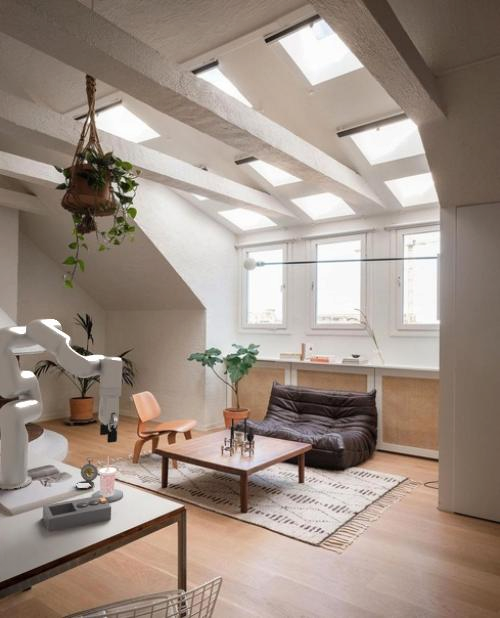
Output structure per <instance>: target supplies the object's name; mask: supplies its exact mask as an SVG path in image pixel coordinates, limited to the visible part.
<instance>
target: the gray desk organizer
mask: <svg viewBox="0 0 500 618" xmlns="http://www.w3.org/2000/svg"><path fill="white" fill-rule="evenodd" d="M111 519H112V506H111V505H110V502H109V503H108V502H107V500H106V499H105V498H104V497H103V495H99V496H94V497H92V496H89V497H84V498H78V499H73V500H67V501H61V502H56V503H52V504H51V503H50V504H45V505H43V506H42V520H43V522H44V525H45V527H46V530H47V532H48V533H51V532H56V531H61V530H66V529H70V528H76V527H79V526H81V527H82V526H84V525H85V526H86V525H89V524H94V523H100V522H104V521H109V520H111Z"/></svg>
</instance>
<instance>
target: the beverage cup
mask: <svg viewBox="0 0 500 618" xmlns="http://www.w3.org/2000/svg"><path fill="white" fill-rule="evenodd" d="M106 463H107V466H106V467H101V468H100V469H99V470H98V474H99V485H100V487H99V489H100V490H99V491H100V495H103V497H111V496H113V494H114V489H115V482H116V473H117V468H116V467H113V466H112V467H111V466H110V456H109V455H108V456H107V462H106ZM109 466H110V467H109Z"/></svg>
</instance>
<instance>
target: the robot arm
mask: <svg viewBox="0 0 500 618" xmlns="http://www.w3.org/2000/svg"><path fill="white" fill-rule="evenodd" d="M71 345H72V338H71V336H69V335H68V334H67V333H65V332H63V328H62V325H61V323H60V322H59V321H57V320H55V319H54V318H53V319H52V318H38V319H33V320H31V321H30V322H29V323H28V324H27V325H21V326H20V325H19V326H6V327H2V328H0V397H2V398H4V399H13V398H16V397H18V399H16V400H12V401H10V402H7V403H6V404H3V405H2V407H1V408H0V488H1V489H0V490H5V489H8V490H15V489H14V488H17V489H21V488H24V487H27V486H29V485H30V484H32V480H33V479H32V477H31V476H30V475H28V468H29V467H28V464H29V461H28V460H29V433H28V430H27V428H26V424H28V423H30V422H34V421H35V420H37V419H39V418H40V417H41V415H42V413H43V410H44V409H43V407H44V405H43V400H42V394H41V389H40V384H39V380H38V377H37V376H36V374H34V372H32V371H31V370H20V369H21V368H20V365H19V360H18V358H17V356H16V354H15V353H14V352H13V349H23V348H30V347H34V346H39V347H41V348H43V349H45V350H46V351H47V352H49V353H51V354H52V355H54V356H55V359H56V361H57V362H58V364H59V366H60V367H62V369H64V370H65V371H67V372H69V373H70V374H72V375H73V376H74V377H75V376H76V377H78V378H81V379H86V378H90V377H91V378H92V377H94V376H99V375H100V376H99V397H100V398H99V407H98V421H99V422H100V424H99V426H100V428H99V435H100V436H107V437H106V438H107V439H106V442H107V443H116V442H117V441H118V425H119V424H118V423H119V417H120V416H119V414H120V412H119V411H120V397H121V396H122V384H123V383H122V380H123V379H122V378H123V360H122V358H121V357H118V356H117V357H116V356H105V355H102V354H92V355H91V354H90V355H85V356H83V355H81V354H80V353H78V352H76V351H75V350H74V349H72V348H71ZM20 487H21V488H20Z"/></svg>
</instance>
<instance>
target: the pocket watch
mask: <svg viewBox="0 0 500 618" xmlns="http://www.w3.org/2000/svg"><path fill="white" fill-rule="evenodd" d="M88 459H89V460H88ZM93 460H94V458H93V457H87V458H86V461H87V462H88V463H86V464H84V465H83V466H82V467H81V470H80V476H81V477H82V479H83V480H81V481H79V482H77V483H76V484H78V483H89V484H90V485H91V486H89V487H91V488H92V487H94V486H95V482H93V481H95V479H96V478H97V477H98V474H99V470H98V468H97V467H96V466H95V464H93V463H92V462H93ZM89 487H88V488H87V489H90V488H89Z"/></svg>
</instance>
